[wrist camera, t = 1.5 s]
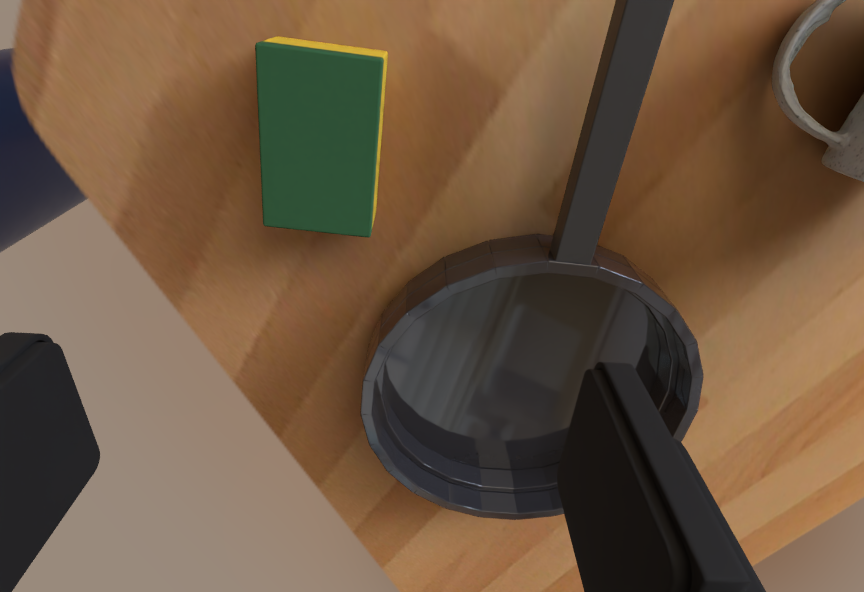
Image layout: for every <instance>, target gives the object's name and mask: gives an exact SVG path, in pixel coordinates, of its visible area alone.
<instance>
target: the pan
mask: <svg viewBox="0 0 864 592" xmlns="http://www.w3.org/2000/svg"><path fill="white" fill-rule="evenodd" d="M552 239H553V236H552V235H543V234H536V235H535V234H532V235H524V236H516V237H509V238H501V239H493V240H489V242H488V241H485V242H482V243H480V244H477V245H474V246H472V247H469V248H467V249H464V250H461V251H459V252H456V253H454V254H451V255H448V256H446V257H443V258H442V259H440V260H439V261H437V262H436V263H435V264H433V265H432V266H430V267H429V268H427V269H426V270H424V271H423V272H422V273H420V274H419V275H417V276H416V277H414V278H413V279H412V280H410V281H409V282H408V283H407V284H406V285H405V286H404V288H403V289H402V290H401V291H400V292H399V294H398V295H397V296H396V297H395V298H394V300H393V301H392V302H391V303H390V304H389V306H388V307H387V308H386V309H385V310H384V312H383V313H382V315H381V317H380V320H379V322H378V324H377V327H376V329H375V331H374V334H373V336H372V338H371V341H370V343H369V346H368V351H367V358H366V364H365V370H364V376H363V385H362V398H361V412H360V413H361V417H362V421H363V424H364V428H365V431H366V435H367V439H368V442H369V445H370V447H371V448H372V450H373V451H374V453H375V454H376V455H377V457H378V458H379V460H380V461H381V463H382V464H383V466H384V467H385V469H386V470H387V471H388V472H389V473H390V474H391V475H392V476H393V477H395V478H396V479H397V480H398V481H399V482H401V483H402V484H403V485H404V486H405V487H407V488H408V489H409V490H410V491H412V492H414V494H416V495H418V496H421V497H423V498H425V499H427V500H429V501H431V502H433V503H435V504H437V505H439V506H441V507H443V508H446V509H450V510H454V511H457V512H461V513H465V514H469V515H473V516H477V517H483V518H497V519H511V520H516V519H517V520H519V519H530V518H540V517H551V516H554V515H555V516H557V515H561V514H564V510H563V507H562V503H561V499H560V495H559V491H558V486H557V471H558V466H559V463H560V459H561V456H562V452H563V448H564V445H565V441H566V437H567V434H568V430H569V427H570V423H571V419H572V416H573V412H574V409H575V405H576V401H577V398H578V394H579V391H580V387H581V383H582V380H583V376H584V373H585V371H586V370H588V369H594V367H595V365H596V364H597V363H598V362H615V363H630V364H632V365H633V367H634V368H635V370H636V371H637V373H638V375H639V377H640V379H641V381H642V382H643V384H644V386H645V388H646V390H647V392H648V393H649V395H650V397H651V399H652V401H653V403H654V404H655V406H656V408H657V410H658V412H659V414H660V415H661V417H662V419H663V421H664V423H665V425H666V426H667V428H668V430H669V432H670V434H671V436H672V437H673V439H676V440H678V441H679V442H681V441H682V440H683V438H684V436H685V434H686V432H687V430H688V428H689V427H690V425H691V423H692V421H693V419H694V417H695V415H696V413H697V411H698V406H699V400H700V394H701V388H702V382H703V370H702V365H701V360H700V354H699V349H698V344H697V341H696V339H695V337H694V335H693V334H692V332H691V331H690V329H689V328H688V326H687V324H686V323H685V321H684V320H683V318H682V316H681V315H680V313H679V312H678V310H677V309H676V308H675V306H674V305H673V304H672V302H671V301H670V300H669V299H668V297H667V296H666V295H665V294H664V292H663V291H662V290H661V289H660V287H659V286H658V285H657V283H656V282H655V281H654V280H653V279H652V278H651V277H650V276H649V275H647V274H646V273H645V272H644V271H642V270H641V269H640V268H638V267H637V266H636V265H635V264H633V263H632V262H631V261H630V260H628V259H627V258H626V257H625V256H623V255H621V254H619V253H616V252H614V251H611V250H608V249H606V248H603V247H601V246H598V245H597V246H596V249H595V252H594V255H593V259H592V262H591V264H582V263H572V262H563V261H556V260H555V259H554V257H553V255H552V253H551V251H550V246H551V243H552Z"/></svg>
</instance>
